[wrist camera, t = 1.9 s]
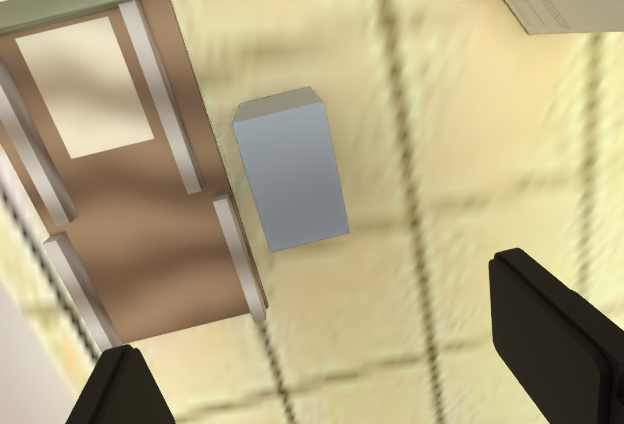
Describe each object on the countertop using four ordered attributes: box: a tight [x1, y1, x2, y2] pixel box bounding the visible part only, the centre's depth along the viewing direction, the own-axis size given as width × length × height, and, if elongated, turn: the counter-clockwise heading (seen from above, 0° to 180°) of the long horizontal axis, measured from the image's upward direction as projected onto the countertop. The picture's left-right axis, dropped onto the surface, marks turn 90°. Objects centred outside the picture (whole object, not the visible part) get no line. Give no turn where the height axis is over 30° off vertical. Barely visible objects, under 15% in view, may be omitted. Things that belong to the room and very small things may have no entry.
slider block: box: [232, 87, 350, 252], centre depth 27 cm, size 8×5×8 cm, turn 13°
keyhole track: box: [0, 0, 268, 353], centre depth 29 cm, size 26×14×3 cm, turn 13°
